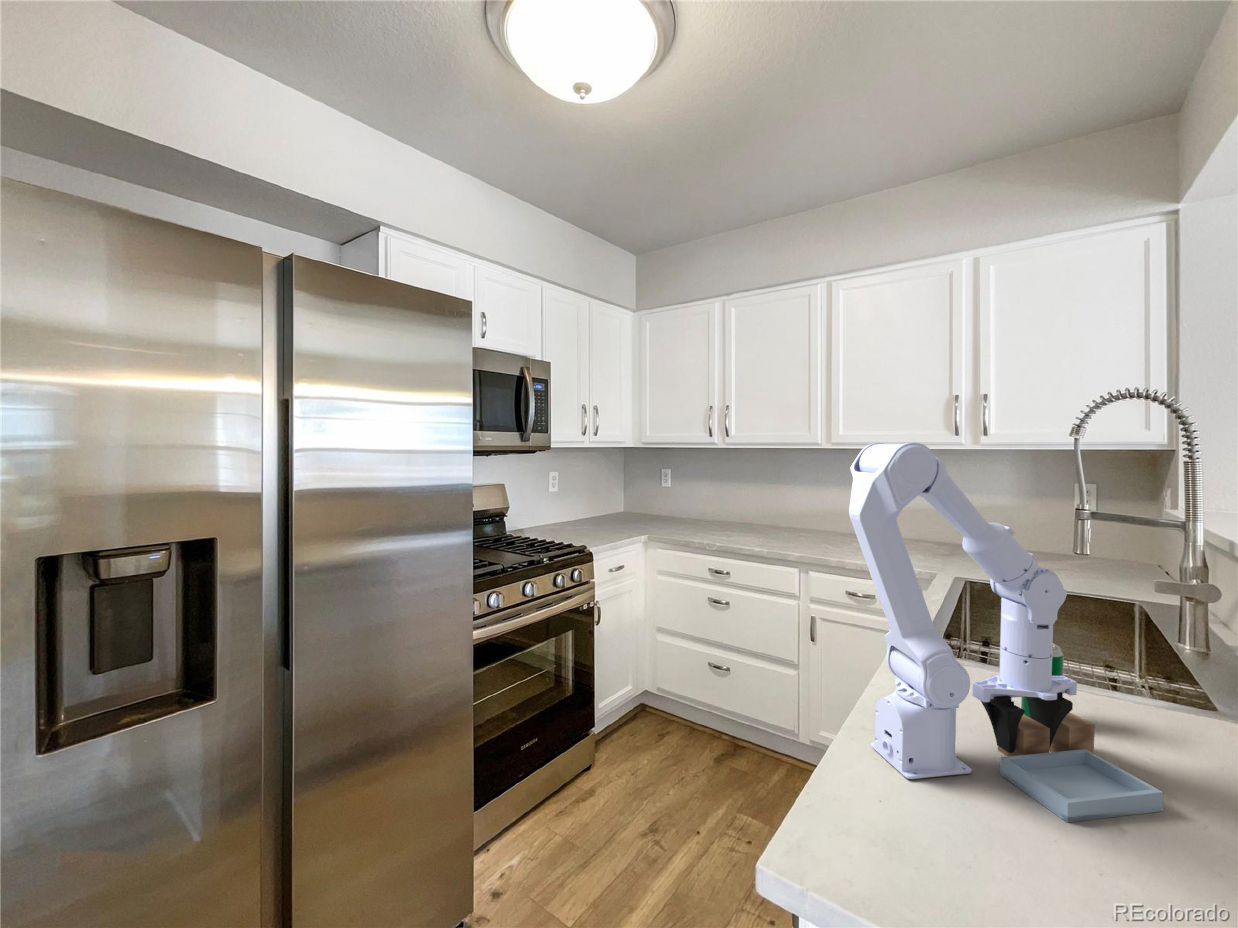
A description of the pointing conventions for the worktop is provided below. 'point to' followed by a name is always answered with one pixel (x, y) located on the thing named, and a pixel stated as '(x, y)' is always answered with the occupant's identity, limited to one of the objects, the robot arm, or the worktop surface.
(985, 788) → the worktop surface
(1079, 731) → the walnut block
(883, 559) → the robot arm
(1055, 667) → the soda can
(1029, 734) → the walnut block
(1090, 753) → the tray
